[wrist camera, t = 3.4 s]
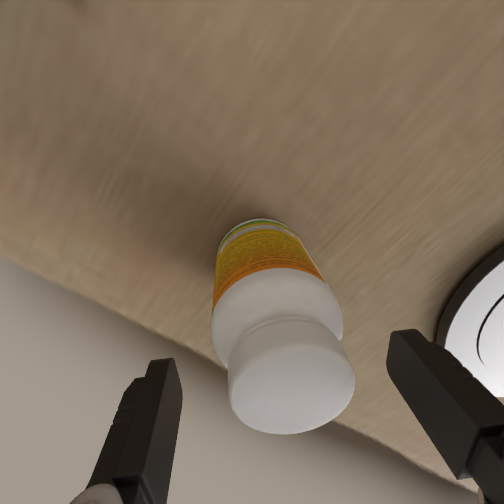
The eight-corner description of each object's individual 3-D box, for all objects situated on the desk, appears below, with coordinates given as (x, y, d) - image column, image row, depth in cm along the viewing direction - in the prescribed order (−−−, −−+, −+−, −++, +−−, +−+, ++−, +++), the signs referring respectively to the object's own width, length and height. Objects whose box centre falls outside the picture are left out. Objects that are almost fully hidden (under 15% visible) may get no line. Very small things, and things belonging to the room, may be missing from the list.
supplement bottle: (198, 245, 17) (165, 382, 8) (276, 199, 16) (338, 292, 7) (245, 306, 19) (260, 468, 10) (315, 268, 18) (401, 407, 9)
